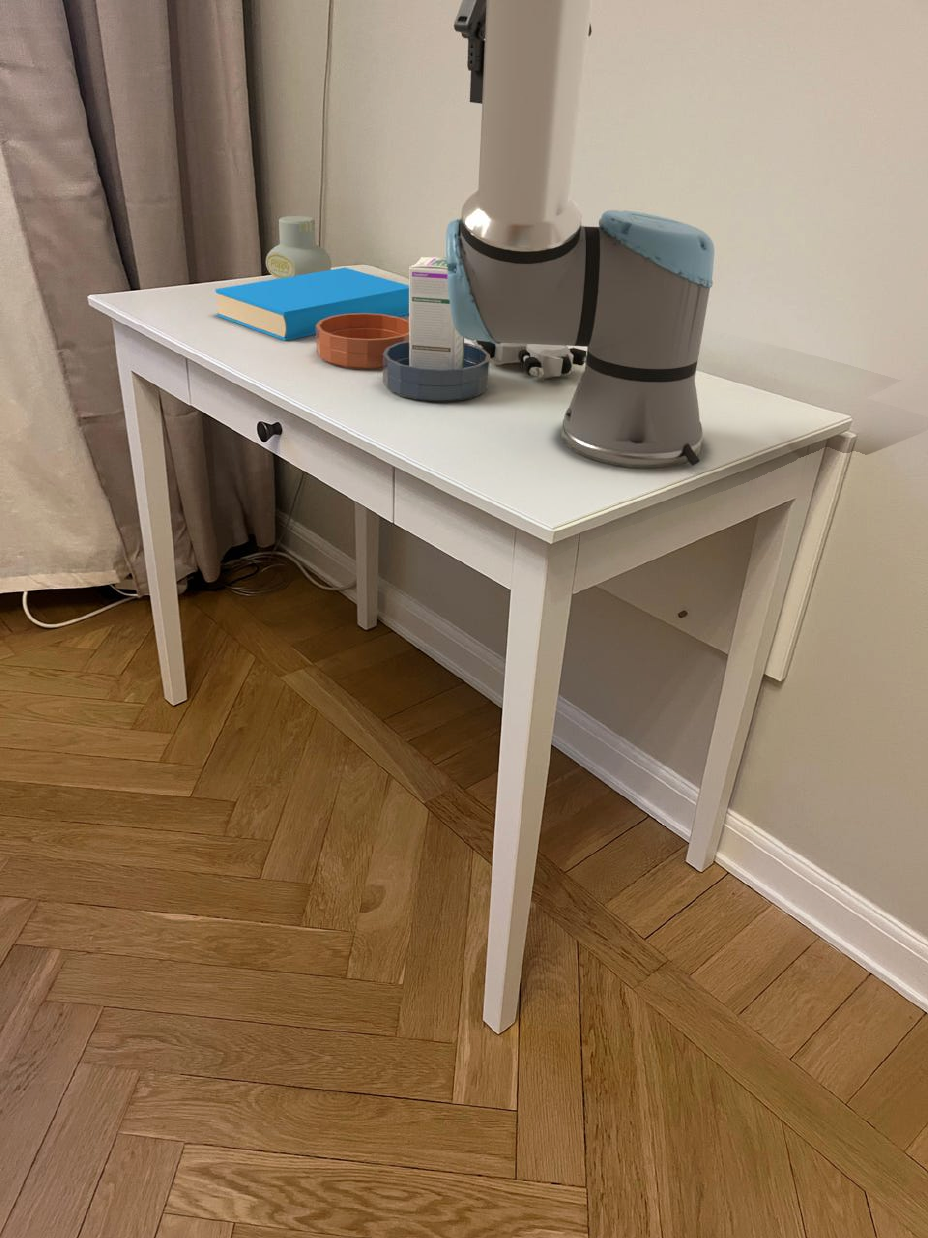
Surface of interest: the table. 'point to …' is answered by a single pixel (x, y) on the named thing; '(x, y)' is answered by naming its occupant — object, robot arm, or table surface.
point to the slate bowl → (436, 375)
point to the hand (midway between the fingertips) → (520, 102)
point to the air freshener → (297, 249)
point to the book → (310, 301)
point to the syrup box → (432, 318)
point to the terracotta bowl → (359, 338)
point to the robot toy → (535, 357)
